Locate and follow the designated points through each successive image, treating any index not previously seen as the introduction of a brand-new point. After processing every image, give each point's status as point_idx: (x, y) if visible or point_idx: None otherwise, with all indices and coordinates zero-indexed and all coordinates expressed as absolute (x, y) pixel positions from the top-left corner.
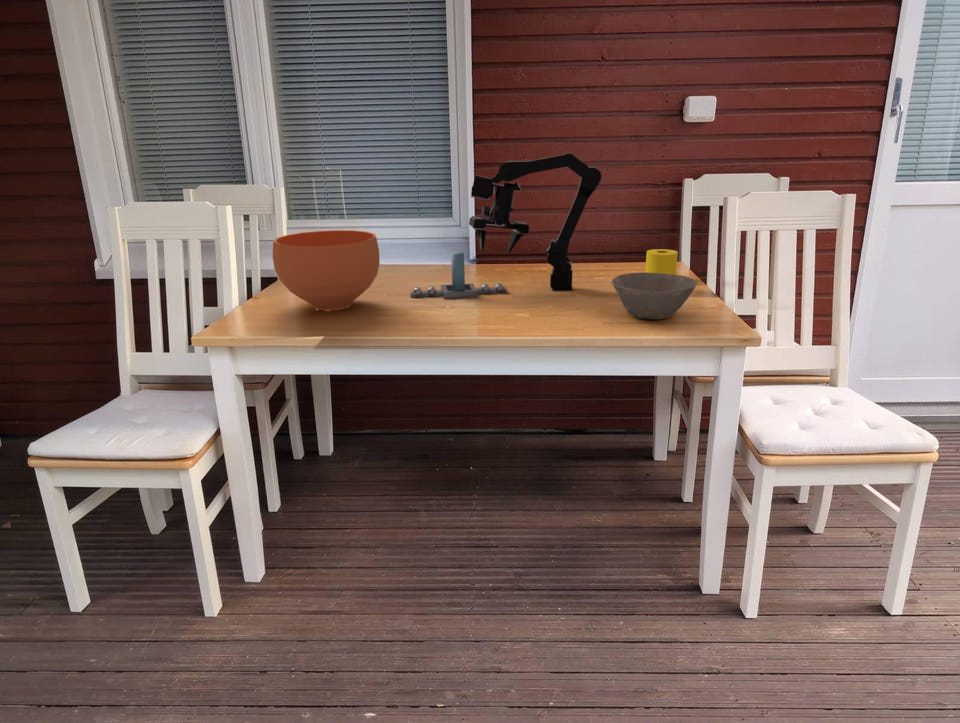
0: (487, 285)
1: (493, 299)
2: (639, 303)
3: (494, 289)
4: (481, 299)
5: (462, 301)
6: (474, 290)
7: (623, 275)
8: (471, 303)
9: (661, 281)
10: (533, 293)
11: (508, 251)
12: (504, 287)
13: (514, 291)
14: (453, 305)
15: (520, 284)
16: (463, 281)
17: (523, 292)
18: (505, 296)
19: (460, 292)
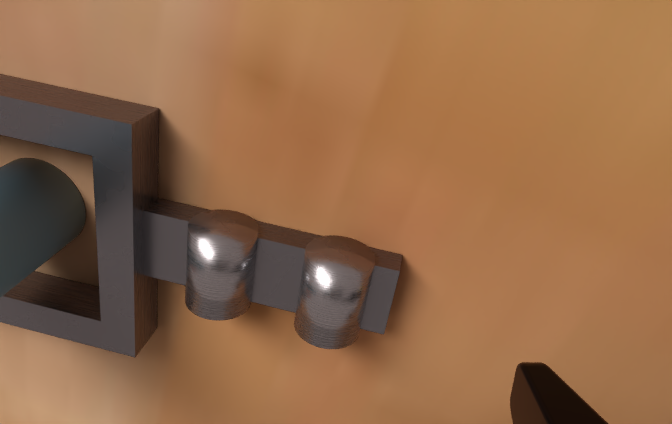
0: (226, 295)
1: (245, 410)
2: None
3: (286, 307)
4: (175, 380)
5: (61, 368)
6: (118, 341)
7: None
8: (108, 421)
9: None
10: None
11: (519, 413)
12: (384, 286)
13: (459, 306)
14: (14, 411)
15: (652, 101)
16: (5, 292)
17: (509, 358)
18: (340, 388)
19: (27, 323)
